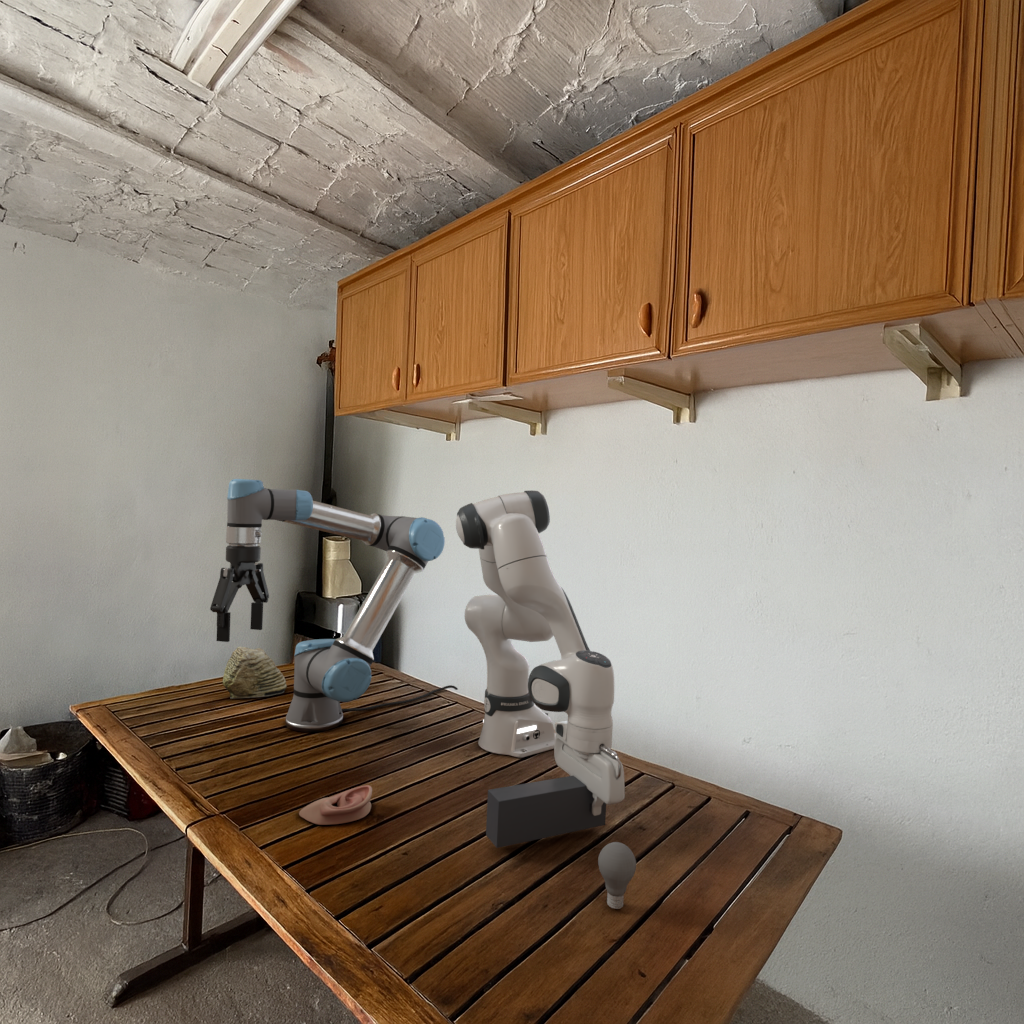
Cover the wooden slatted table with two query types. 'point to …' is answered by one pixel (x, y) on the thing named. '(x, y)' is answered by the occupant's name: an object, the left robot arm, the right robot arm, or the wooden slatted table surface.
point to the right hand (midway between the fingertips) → (586, 806)
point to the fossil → (252, 674)
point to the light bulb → (616, 871)
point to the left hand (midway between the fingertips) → (240, 635)
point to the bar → (539, 811)
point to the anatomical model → (339, 807)
